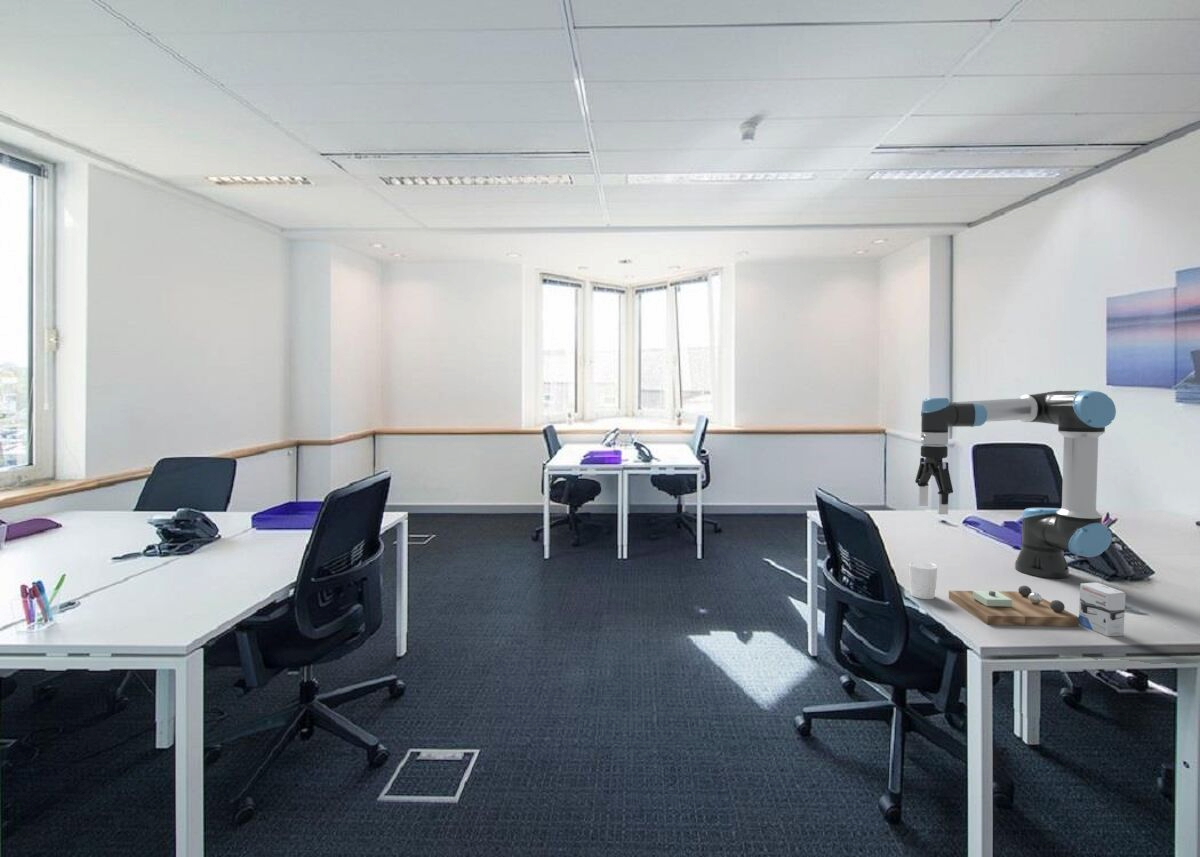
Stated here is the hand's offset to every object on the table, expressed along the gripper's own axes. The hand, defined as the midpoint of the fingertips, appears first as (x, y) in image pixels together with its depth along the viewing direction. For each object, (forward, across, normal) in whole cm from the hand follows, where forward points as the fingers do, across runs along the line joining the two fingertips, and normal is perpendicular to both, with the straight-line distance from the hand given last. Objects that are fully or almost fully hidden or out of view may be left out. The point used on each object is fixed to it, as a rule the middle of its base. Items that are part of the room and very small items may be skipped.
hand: (932, 509), depth 182 cm
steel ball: (+22, +18, +21) cm, 35 cm away
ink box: (+27, +29, +30) cm, 50 cm away
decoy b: (+22, +24, +23) cm, 40 cm away
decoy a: (+22, +12, +22) cm, 33 cm away
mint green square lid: (+24, +18, +9) cm, 31 cm away
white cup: (+27, +6, -5) cm, 28 cm away
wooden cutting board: (+26, +18, +14) cm, 35 cm away
